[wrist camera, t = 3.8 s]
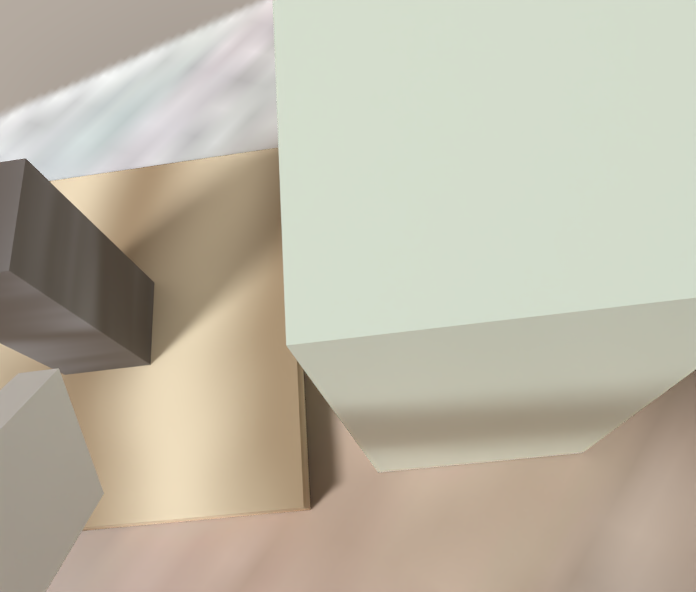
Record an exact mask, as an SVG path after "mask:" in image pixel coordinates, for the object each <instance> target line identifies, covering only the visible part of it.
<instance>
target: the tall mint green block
mask: <svg viewBox="0 0 696 592" xmlns="http://www.w3.org/2000/svg"><path fill="white" fill-rule="evenodd" d="M273 23H274V48H275V73H276V99H277V124H278V149H279V175H280V200H281V225H282V251H283V276H284V301H285V326H286V346H287V347H288V349H289V350H290V351H291V353H292V354H293V356H294V357H295V358H296V360H297V361H298V362H299V364H300V365H301V367H302V368H303V369H304V371H305V372H306V373H307V375H308V376H309V378H310V379H311V380H312V382H313V383H314V384H315V386H316V387H317V389H318V390H319V391H320V393H321V394H322V396H323V397H324V398H325V400H326V401H327V402H328V404H329V405H330V407H331V408H332V409H333V411H334V412H335V413H336V415H337V416H338V418H339V419H340V420H341V422H342V423H343V424H344V426H345V427H346V429H347V430H348V431H349V433H350V434H351V436H352V437H353V438H354V440H355V441H356V442H357V444H358V445H359V447H360V448H361V449H362V451H363V452H364V453H365V455H366V456H367V458H368V459H369V460H370V462H371V463H372V464H373V466H374V467H375V469H376V470H377V471H378V473H379V472H389V471H400V470H410V469H421V468H431V467H441V466H452V465H462V464H473V463H483V462H493V461H504V460H514V459H525V458H535V457H545V456H556V455H566V454H577V453H583V452H584V451H586V450H587V449H588V448H590V447H591V446H593V445H594V444H595V443H597V442H598V441H599V440H601V439H602V438H603V437H605V436H606V435H607V434H609V433H610V432H612V431H613V430H614V429H616V428H617V427H618V426H620V425H621V424H622V423H624V422H625V421H626V420H628V419H629V418H631V417H632V416H633V415H635V414H636V413H637V412H639V411H640V410H641V409H643V408H644V407H646V406H647V405H648V404H650V403H651V402H652V401H654V400H655V399H656V398H658V397H659V396H660V395H662V394H663V393H665V392H666V391H667V390H669V389H670V388H671V387H673V386H674V385H675V384H677V383H678V382H679V381H681V380H682V379H684V378H685V377H686V376H688V375H689V374H690V373H692V372H693V371H694V370H696V0H273Z"/></svg>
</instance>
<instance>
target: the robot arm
mask: <svg viewBox="0 0 696 592" xmlns="http://www.w3.org/2000/svg"><path fill="white" fill-rule="evenodd" d="M103 494H104V492H103V489H102V486H101V484H100V481H99V478H98V475H97V473H96V470H95V467H94V464H93V462H92V459H91V456H90V453H89V451H88V448H87V445H86V442H85V439H84V437H83V434H82V431H81V428H80V426H79V423H78V420H77V417H76V415H75V412H74V409H73V406H72V403H71V401H70V398H69V395H68V392H67V390H66V387H65V384H64V381H63V379H62V376H61V373H60V370H59V368H57V369H49V370H41V371H33V372H25V373H18V374H17V375H16V376H15V377H14V378H13V379H12V380H10V381H9V382H8V383H7V384H6V385H5V386H4V387H3V388H2V389H1V390H0V592H46V591H47V589H48V587H49V585H50V584H51V582H52V580H53V579H54V577H55V575H56V574H57V572H58V570H59V569H60V567H61V565H62V563H63V562H64V560H65V558H66V557H67V555H68V553H69V552H70V550H71V548H72V547H73V545H74V543H75V542H76V540H77V538H78V536H79V535H80V533H81V531H82V530H83V528H84V526H85V525H86V523H87V521H88V520H89V518H90V516H91V514H92V513H93V511H94V509H95V508H96V506H97V504H98V503H99V501H100V499H101V498H102V496H103Z"/></svg>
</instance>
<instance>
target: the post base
mask: <svg viewBox="0 0 696 592" xmlns="http://www.w3.org/2000/svg"><path fill="white" fill-rule="evenodd" d="M57 368H59V370H60V373H61V376H62V379H63V381H64V384H65V387H66V390H67V392H68V395H69V398H70V401H71V403H72V406H73V409H74V412H75V415H76V417H77V420H78V423H79V426H80V428H81V431H82V434H83V437H84V439H85V442H86V445H87V448H88V451H89V453H90V456H91V459H92V462H93V464H94V467H95V470H96V473H97V475H98V478H99V481H100V484H101V486H102V489H103V492H104V494H103V496H102V498H101V499H100V501H99V503H98V504H97V506H96V508H95V509H94V511H93V513H92V514H91V516H90V518H89V520H88V521H87V523H86V525H85V526H84V528H83V530H82V531H85V530H96V529H107V528H118V527H129V526H140V525H151V524H162V523H173V522H184V521H194V520H205V519H216V518H227V517H238V516H249V515H260V514H271V513H282V512H293V511H304V510H310V490H309V470H308V450H307V430H306V410H305V390H304V370H303V368H302V367H301V365H300V364H299V362H298V361H297V360H296V358H295V357H294V356H293V354H292V353H291V351H290V350H289V349H288V347H287V346H286V326H285V301H284V276H283V251H282V225H281V200H280V175H279V149H278V148H272V149H265V150H259V151H252V152H245V153H238V154H231V155H225V156H218V157H211V158H204V159H197V160H191V161H184V162H177V163H170V164H163V165H157V166H150V167H143V168H136V169H129V170H123V171H116V172H109V173H102V174H95V175H89V176H82V177H75V178H68V179H61V180H55V181H48V180H47V179H46V178H45V177H44V176H43V175H42V174H41V173H40V172H39V171H38V170H37V169H36V168H35V167H34V166H33V165H32V164H31V163H30V162H29V161H28V160H27V159H19V160H13V161H6V162H0V390H1V389H2V388H3V387H4V386H5V385H6V384H7V383H8V382H9V381H10V380H12V379H13V378H14V377H15V376H16V375H17V374H18V373H25V372H33V371H41V370H49V369H57Z"/></svg>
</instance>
